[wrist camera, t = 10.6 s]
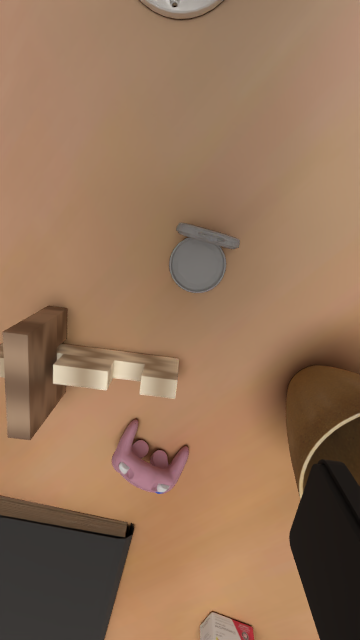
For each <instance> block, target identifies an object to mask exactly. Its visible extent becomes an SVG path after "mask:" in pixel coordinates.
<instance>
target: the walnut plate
mask: <svg viewBox="0 0 360 640" xmlns="http://www.w3.org/2000/svg"><path fill="white" fill-rule="evenodd" d="M66 339H67V308H61V307H53V306H47V307H46V308H44V309H42V310H40V311H38V312H37V313H35V314H33V315H31V316H30V317H28V318H26V319H24V320H23V321H21V322H19V323H17V324H16V325H14V326H12V327H10V328H9V329H7V330H5V331H3V352H4V372H5V393H6V413H7V433H8V438H16V439H25V440H31V438H32V437H33V436H34V434H35V433H36V432H37V430H38V429H39V428H40V426H41V425H42V424H43V422H44V421H45V419H46V418H47V417H48V415H49V414H50V413H51V411H52V410H53V409H54V407H55V406H56V405H57V403H58V402H59V401H60V399H61V398H62V396H63V395H64V394H65V392H66V385H61V384H53V364H54V363H55V362H56V361H57V347H58V346H59V345H60V344H61V343H62V342H64V341H65V340H66Z"/></svg>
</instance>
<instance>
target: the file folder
mask: <svg viewBox="0 0 360 640" xmlns="http://www.w3.org/2000/svg"><path fill="white" fill-rule="evenodd" d="M126 527H127V522H124V521H118V520H112V519H107V518H102V517H98V516H93V515H89V514H84V513H79V512H75V511H70V510H66V509H61V508H57V507H52V506H48V505H43V504H38V503H33V502H28V501H23V500H18V499H13V498H8V497H3V496H0V640H104V638H105V635H106V631H107V627H108V624H109V620H110V616H111V612H112V609H113V605H114V601H115V598H116V594H117V590H118V587H119V583H120V579H121V576H122V572H123V568H124V565H125V561H126V557H127V554H128V550H129V546H130V543H131V539H132V535H133V531H134V526H133V524H132V523H131V526H130V529H129V533H128V537H127V538H125V533H126Z"/></svg>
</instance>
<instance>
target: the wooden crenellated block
mask: <svg viewBox="0 0 360 640" xmlns="http://www.w3.org/2000/svg"><path fill="white" fill-rule="evenodd" d="M178 366H179V358H171V357H164V356H156V355H148V354H140V353H132V352H124V351H117V350H109V349H101V348H93V347H85V346H77V345H70V344H62V343H61V344H60V345H59V346H58V347H57V361H56V362H55V363H54V364H53V384H61V385H68V386H76V387H84V388H92V389H100V390H107V389H108V387H109V385H110V383H111V381H112V379H113V378H117V379H125V380H133V381H141V386H140V395H148V396H156V397H164V398H172V399H175V395H176V388H177V381H178ZM0 377H5V372H4V352H3V343H2V344H0Z"/></svg>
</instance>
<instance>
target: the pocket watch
mask: <svg viewBox="0 0 360 640" xmlns="http://www.w3.org/2000/svg"><path fill="white" fill-rule="evenodd" d="M176 230H177V231H178V233H180V234H181V235H184V236H187V237H189V238H186V239H184V240H183V241H181V242H180V243H179V244H178V245H177V246H176V247H175V248H174V250H173V252H172V254H171V257H170V265H169V267H170V273H171V275H172V278H173V280H174V281H175V283H176V284H177V285H178V286H179V287H181V288H182V289H184V290H186V291H188V292H192V293H203V292H207V291H209V290H211V289H213V288H214V287H215V286H217V285H218V284H219V283H220V281H221V280H222V278H223V276H224V273H225V269H226V258H225V255H224V252H223V251H222V249H221V247H225V248H229V249H235V248H239V244H240V243H239V242H240V240H239V239H237V238H235V237H232V236H229V235H226V234H223V233H219V232H216V231H212V230H209V229H205V228H202V227H198V226H194V225H190V224H186V223H179V225H178V226H177V229H176ZM220 246H221V247H220Z"/></svg>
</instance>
